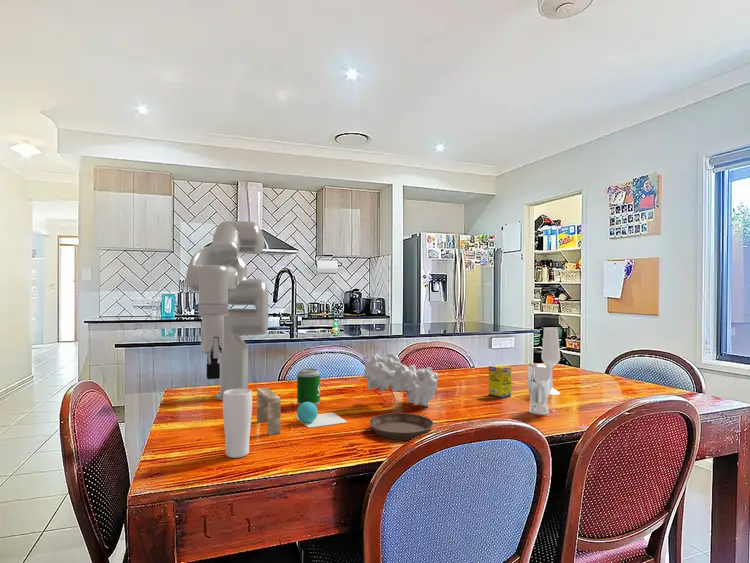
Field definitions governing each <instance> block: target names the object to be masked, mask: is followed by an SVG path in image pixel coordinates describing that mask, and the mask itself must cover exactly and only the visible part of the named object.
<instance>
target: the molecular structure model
mask: <svg viewBox="0 0 750 563" xmlns="http://www.w3.org/2000/svg"><path fill="white" fill-rule="evenodd" d="M386 357H387V358H388V359H387V358H386ZM386 357H381V356H379V354H378V353H376V352H375V353H373V355H372V357H371V360H370V361H369V360H365V363H364V364H363V366H364V371H363V376H362V377H363V378H364V379H365V380H367V381H366V386H367V389H368V390H373V392H375V394H377V395H378V396H379V397H380V398H381V399H382V401H381V405H382V407H381V408H387V407H391V406H393V405H395V402H396V397H395V394H394V393H405V395H406V399H407V400H408V403H409V404H412V403H413V404H415V405H419V406H422V407H426V408H427V407H428V406H429V402H431V400H434V398H435V396H434V394H435V393H436V392H437V391H438V387H437V386H438V380H439V374H438V372H435V371H433V370H432V367H431V366H430V367H429V366H427V367H426V368H424V367H423V368H416V365H415V364H410V365H409V366H407V365H406V362H405V363H402V362H400V357H399V356H397V355H394V353H393V352H388V353H387V354H386ZM380 392H385V393H387V394H388V393H389V394H390V393H391V394H392V397H389V396H386V395H384V397H385V398H388V399H391V400H393V402H392V403H390V402H389V401H387V400H386V399H385V398H384V397H383V396H382V393H380ZM383 402H384V403H385V402H386V403H388V404H389V405H385V404H384V403H383Z"/></svg>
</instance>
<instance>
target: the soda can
mask: <svg viewBox="0 0 750 563" xmlns="http://www.w3.org/2000/svg"><path fill="white" fill-rule="evenodd" d="M296 378H297V380H296V384H297V386H296V388H297V389H296V390H297V391H296V398H297V399H296V400H297V401H296V402H297V406H298V407H299V406H300V405H301V404H302V403H304V402H311V403H313V404H314V405H315V406H316V407H318V405H320V403H321V372H320V371H319V370H318V368H317V369H316V368H301V369H300V370H299V371H298V372H297V377H296Z"/></svg>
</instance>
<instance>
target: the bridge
mask: <svg viewBox="0 0 750 563" xmlns="http://www.w3.org/2000/svg"><path fill="white" fill-rule="evenodd" d="M281 406H282V405H281V397H280V396H279V395H277V394H276V393H275V392H274V391H273V390H271V389H270V388H269V387H267V386H266V387H257V388H256V422H257V423H258V424H261V423H267V435H269V436H272V435H280V434H281V413H282V412H281V409H282V408H281Z"/></svg>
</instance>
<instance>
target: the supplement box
mask: <svg viewBox="0 0 750 563" xmlns="http://www.w3.org/2000/svg"><path fill="white" fill-rule="evenodd" d="M488 396H489V397H493V398H496V399H504V398H508V397H509V398H510V397H511V396H512V366H510V365H504V364H495V365H494V364H493V365H489V366H488Z"/></svg>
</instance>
